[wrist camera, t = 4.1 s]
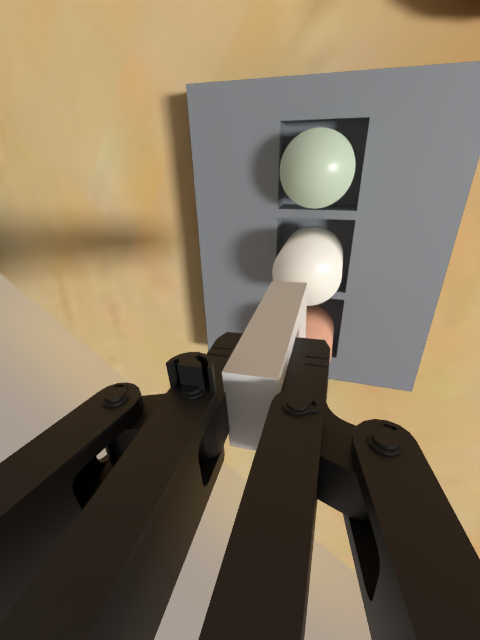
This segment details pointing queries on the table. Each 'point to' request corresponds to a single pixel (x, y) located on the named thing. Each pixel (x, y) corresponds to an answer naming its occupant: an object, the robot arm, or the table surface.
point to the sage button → (317, 167)
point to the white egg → (311, 262)
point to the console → (339, 201)
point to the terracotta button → (319, 325)
